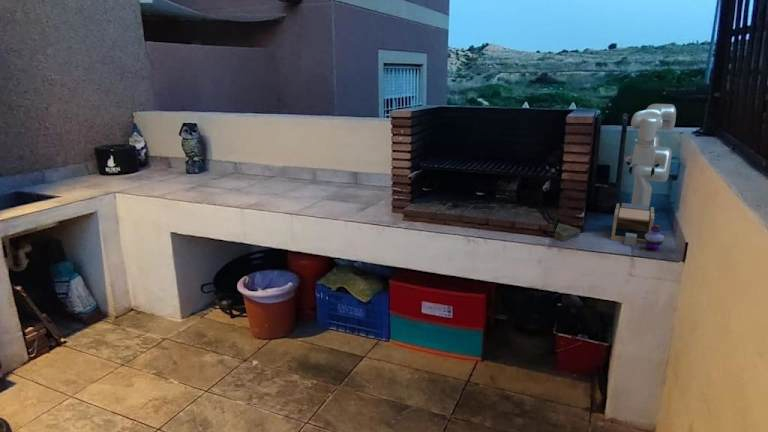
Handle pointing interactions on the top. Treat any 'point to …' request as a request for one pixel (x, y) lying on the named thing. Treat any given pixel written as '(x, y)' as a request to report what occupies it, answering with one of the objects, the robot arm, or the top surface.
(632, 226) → the frame
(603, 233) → the top surface
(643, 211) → the trapdoor
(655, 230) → the potion bottle
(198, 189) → the top surface
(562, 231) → the marble piece
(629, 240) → the cube
